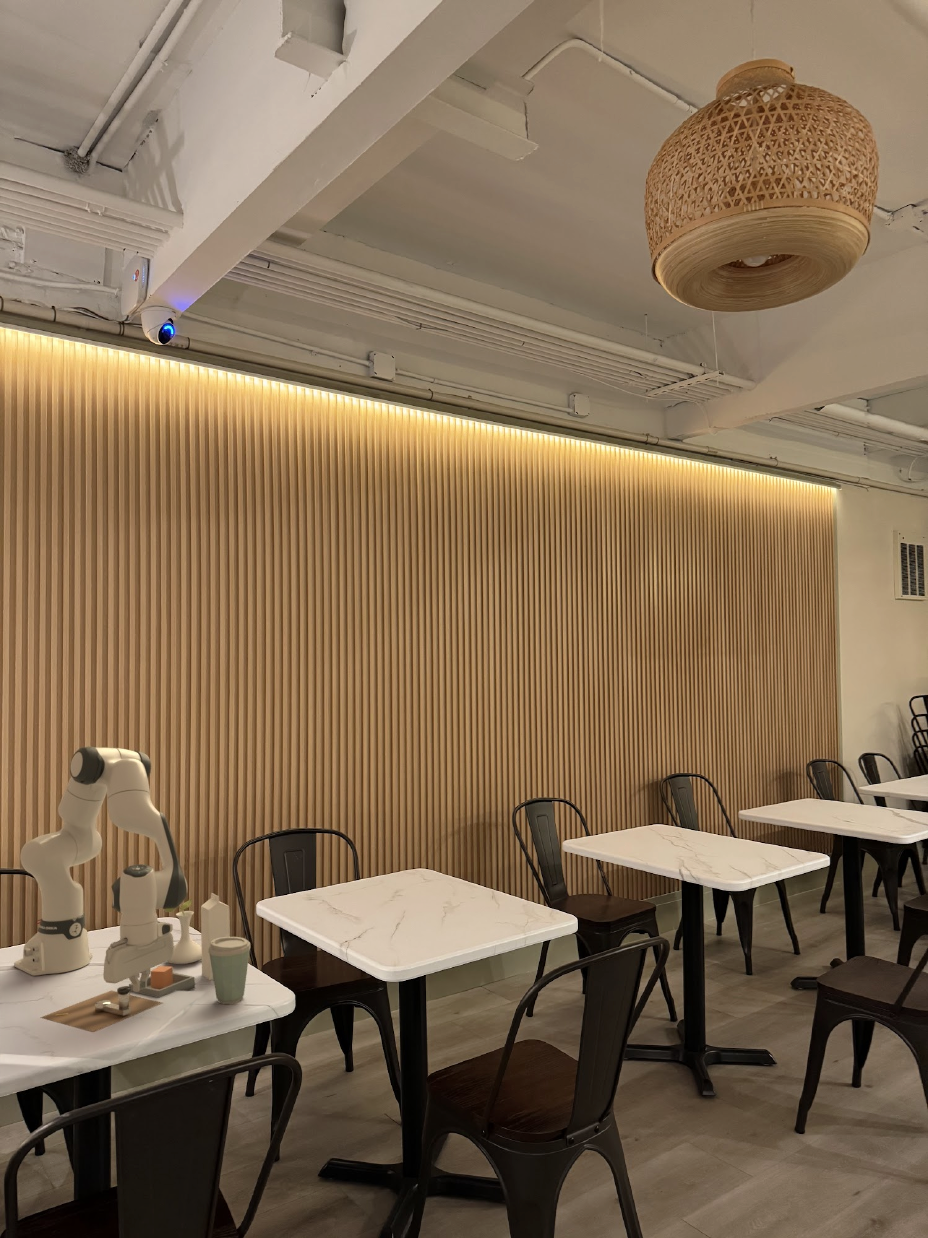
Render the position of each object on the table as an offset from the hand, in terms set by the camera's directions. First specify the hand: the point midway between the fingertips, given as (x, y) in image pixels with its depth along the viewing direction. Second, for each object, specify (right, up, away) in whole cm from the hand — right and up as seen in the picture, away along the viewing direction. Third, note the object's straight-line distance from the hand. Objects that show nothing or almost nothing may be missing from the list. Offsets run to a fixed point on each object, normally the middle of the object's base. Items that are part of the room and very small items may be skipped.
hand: (140, 990), depth 217 cm
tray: (+1, -6, +14) cm, 15 cm away
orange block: (+1, -5, +14) cm, 15 cm away
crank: (-5, -4, -4) cm, 7 cm away
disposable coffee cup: (+21, -6, +6) cm, 22 cm away
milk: (+12, -7, +26) cm, 29 cm away
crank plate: (-9, -6, -2) cm, 10 cm away
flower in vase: (-2, -8, +38) cm, 39 cm away
